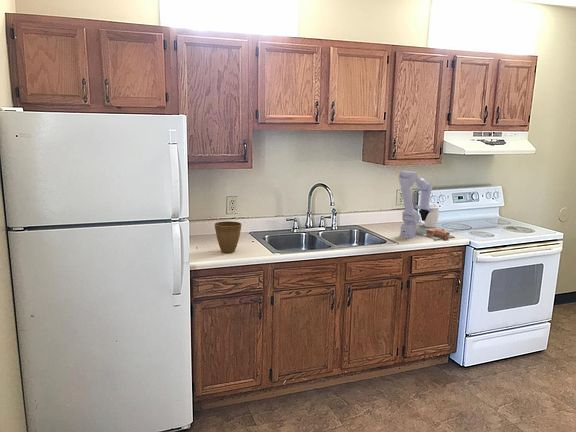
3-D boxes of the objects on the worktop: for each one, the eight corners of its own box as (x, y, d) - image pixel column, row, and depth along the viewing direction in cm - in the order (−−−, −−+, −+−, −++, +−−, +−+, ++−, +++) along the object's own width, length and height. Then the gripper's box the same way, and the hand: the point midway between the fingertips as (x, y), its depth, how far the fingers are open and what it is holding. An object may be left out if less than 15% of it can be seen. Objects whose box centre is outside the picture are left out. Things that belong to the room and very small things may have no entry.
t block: (440, 239, 306) (440, 233, 305) (426, 235, 316) (426, 229, 315) (453, 237, 312) (454, 231, 311) (439, 233, 322) (439, 227, 321)
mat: (435, 240, 306) (435, 239, 305) (402, 231, 330) (402, 230, 330) (454, 237, 315) (454, 236, 314) (421, 228, 339) (421, 227, 339)
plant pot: (245, 253, 268) (246, 225, 265) (220, 256, 260) (220, 227, 257) (234, 246, 280) (234, 219, 277) (210, 249, 273) (210, 222, 270)
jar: (438, 228, 341) (440, 207, 338) (423, 227, 342) (425, 206, 339) (436, 225, 351) (438, 205, 348) (421, 224, 353) (423, 204, 350)
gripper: (437, 202, 318) (435, 222, 321) (421, 198, 330) (419, 218, 333) (430, 202, 314) (428, 223, 317) (413, 199, 327) (412, 219, 329)
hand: (423, 220), depth 325 cm, fingers closed
